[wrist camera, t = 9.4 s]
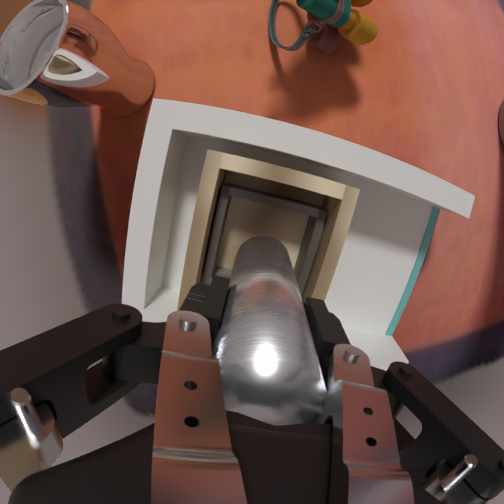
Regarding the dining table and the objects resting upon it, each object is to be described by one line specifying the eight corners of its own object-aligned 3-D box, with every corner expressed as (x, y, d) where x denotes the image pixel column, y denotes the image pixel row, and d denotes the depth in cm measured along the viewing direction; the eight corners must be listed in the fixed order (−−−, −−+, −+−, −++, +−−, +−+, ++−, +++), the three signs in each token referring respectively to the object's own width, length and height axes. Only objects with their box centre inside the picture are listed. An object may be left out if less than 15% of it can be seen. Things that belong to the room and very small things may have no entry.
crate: (337, 183, 24) (360, 189, 18) (298, 310, 27) (306, 346, 21) (220, 153, 23) (207, 149, 17) (192, 285, 27) (175, 317, 21)
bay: (436, 187, 25) (474, 195, 19) (379, 342, 30) (399, 378, 24) (177, 112, 24) (153, 98, 18) (146, 292, 29) (121, 323, 23)
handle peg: (296, 242, 18) (348, 371, 6) (281, 292, 19) (302, 449, 7) (242, 229, 18) (209, 346, 6) (229, 280, 19) (191, 431, 7)
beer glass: (120, 47, 22) (30, -12, 7) (173, 69, 23) (94, -4, 8) (86, 105, 24) (-24, 84, 9) (135, 132, 24) (25, 114, 10)
